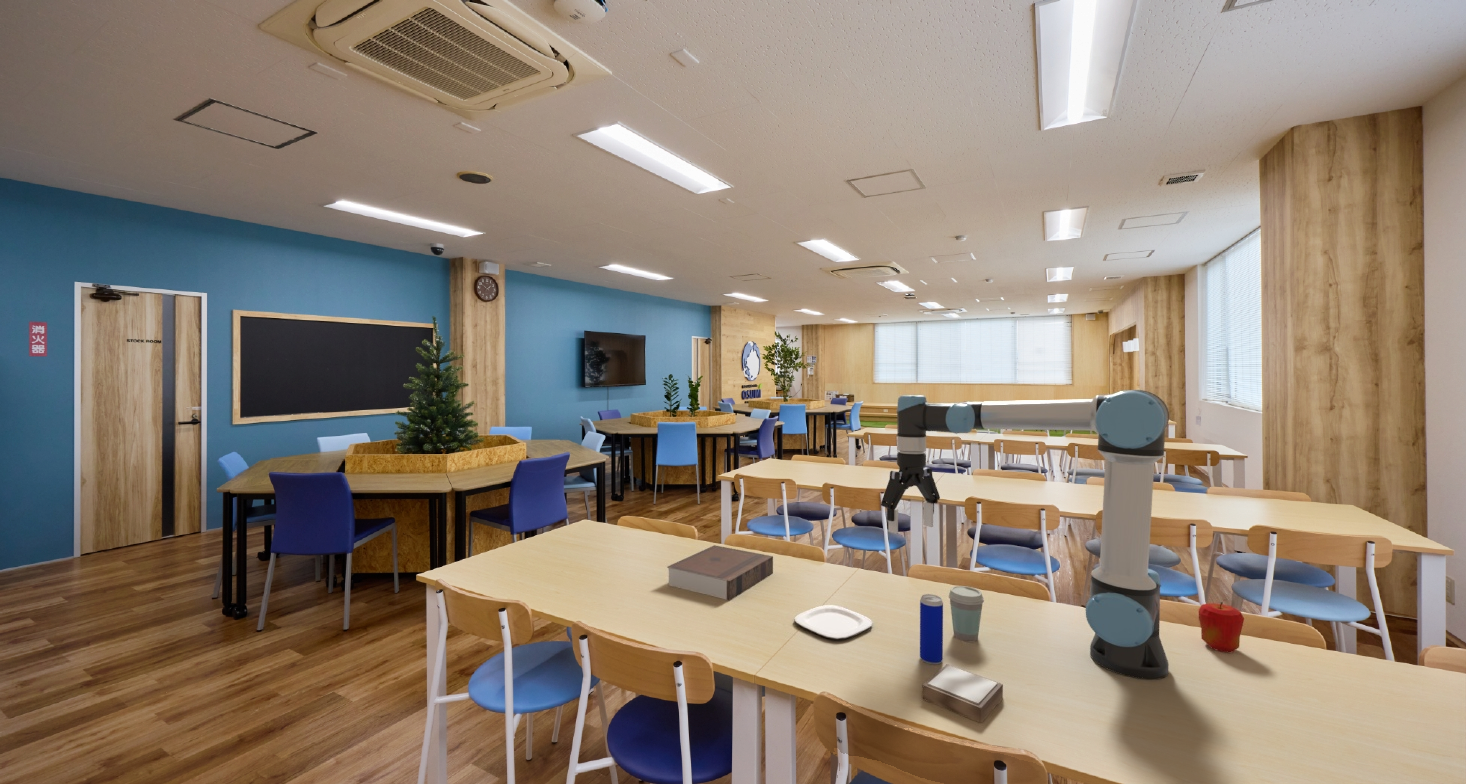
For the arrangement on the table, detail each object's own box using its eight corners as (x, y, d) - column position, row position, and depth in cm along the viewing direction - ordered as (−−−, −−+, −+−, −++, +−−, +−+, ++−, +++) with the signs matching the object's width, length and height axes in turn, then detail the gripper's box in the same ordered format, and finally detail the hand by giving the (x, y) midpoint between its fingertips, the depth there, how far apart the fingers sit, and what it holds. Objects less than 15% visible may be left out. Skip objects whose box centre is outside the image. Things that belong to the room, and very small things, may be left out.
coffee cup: (987, 645, 142) (987, 598, 141) (951, 642, 143) (951, 596, 143) (979, 630, 150) (979, 586, 150) (945, 628, 152) (945, 584, 151)
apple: (1232, 643, 143) (1233, 597, 142) (1250, 658, 135) (1251, 609, 134) (1191, 638, 145) (1192, 592, 145) (1207, 652, 138) (1207, 605, 137)
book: (773, 574, 194) (772, 556, 194) (729, 602, 171) (729, 580, 170) (714, 562, 207) (714, 545, 207) (666, 586, 184) (666, 566, 183)
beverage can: (937, 654, 137) (937, 593, 137) (946, 665, 132) (946, 602, 132) (916, 654, 137) (917, 593, 137) (924, 665, 132) (924, 602, 131)
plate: (837, 648, 141) (837, 641, 141) (786, 624, 155) (786, 617, 155) (880, 627, 153) (880, 621, 153) (829, 607, 167) (829, 601, 167)
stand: (1002, 698, 118) (1002, 682, 118) (980, 723, 110) (980, 706, 110) (946, 677, 127) (946, 662, 127) (922, 698, 118) (922, 683, 118)
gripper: (931, 447, 163) (931, 520, 163) (867, 453, 150) (867, 532, 150) (953, 450, 156) (953, 526, 156) (888, 456, 144) (888, 539, 144)
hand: (911, 529), depth 153 cm, fingers open, 13 cm apart
